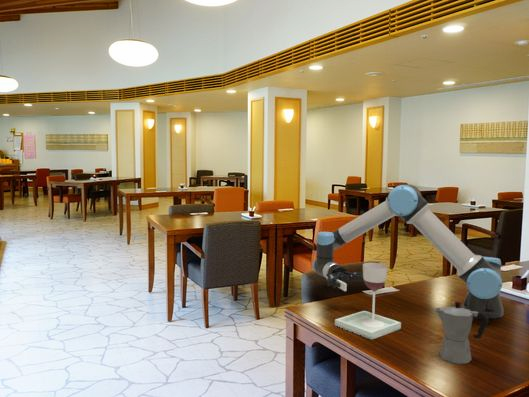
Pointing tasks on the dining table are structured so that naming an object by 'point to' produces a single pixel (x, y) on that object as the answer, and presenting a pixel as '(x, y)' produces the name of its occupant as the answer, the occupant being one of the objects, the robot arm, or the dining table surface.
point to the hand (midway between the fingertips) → (361, 286)
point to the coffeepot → (458, 332)
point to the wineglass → (374, 286)
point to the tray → (356, 326)
